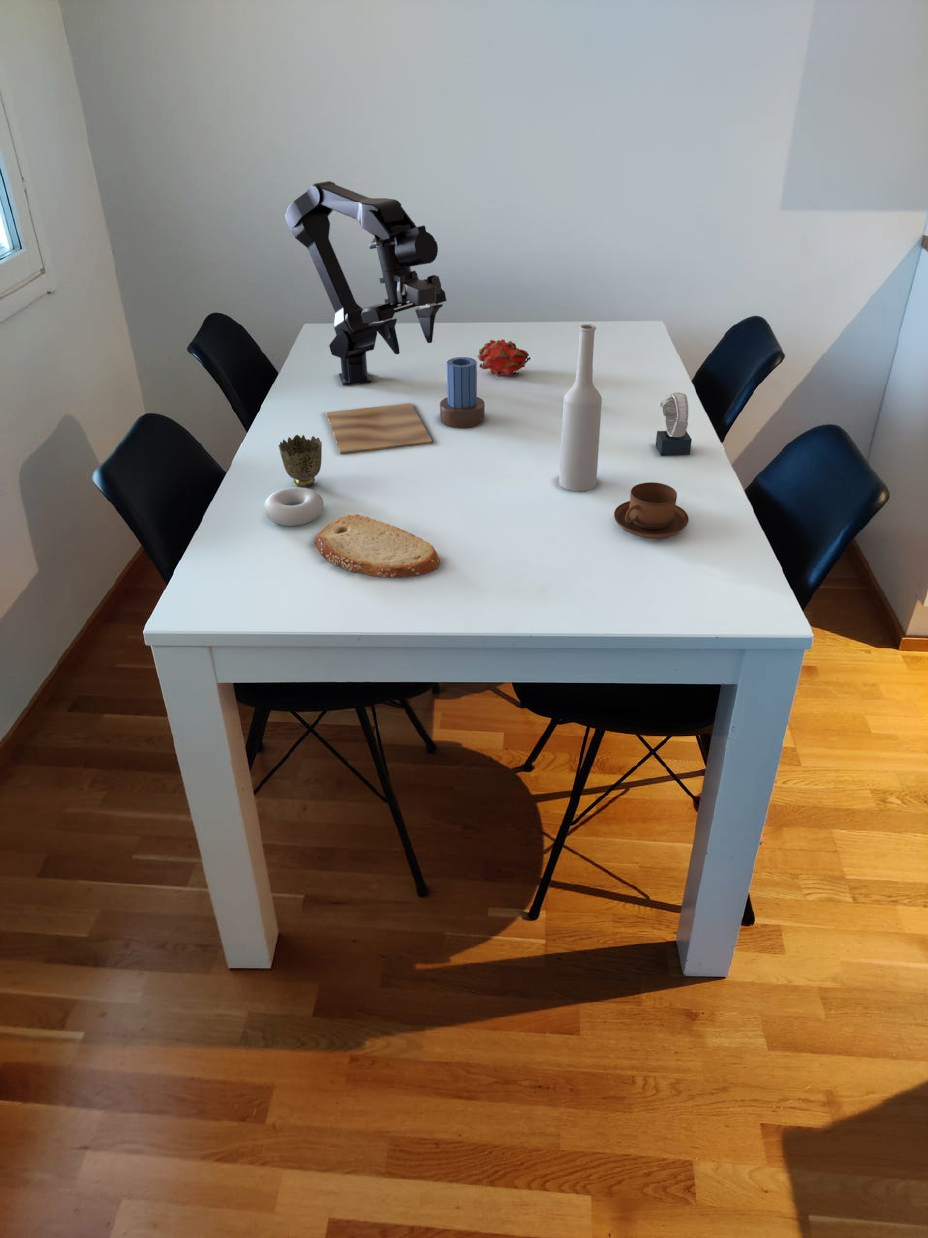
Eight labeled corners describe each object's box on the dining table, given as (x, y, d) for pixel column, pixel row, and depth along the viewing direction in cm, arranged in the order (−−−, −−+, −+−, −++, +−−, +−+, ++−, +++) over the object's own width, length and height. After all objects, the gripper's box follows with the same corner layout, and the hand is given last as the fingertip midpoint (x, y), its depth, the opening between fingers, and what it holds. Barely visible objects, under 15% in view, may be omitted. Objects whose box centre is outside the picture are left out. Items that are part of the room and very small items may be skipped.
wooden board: (326, 414, 195) (325, 412, 195) (411, 404, 199) (411, 402, 198) (340, 453, 179) (340, 451, 179) (432, 442, 183) (432, 440, 183)
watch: (681, 440, 182) (688, 386, 176) (692, 458, 176) (699, 402, 169) (652, 441, 182) (658, 387, 176) (662, 459, 175) (669, 403, 169)
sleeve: (444, 399, 192) (443, 358, 187) (472, 396, 193) (472, 355, 188) (451, 409, 187) (450, 368, 182) (479, 406, 188) (479, 365, 183)
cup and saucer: (670, 551, 148) (675, 517, 144) (601, 532, 153) (603, 498, 150) (698, 519, 156) (702, 486, 153) (631, 502, 162) (634, 469, 158)
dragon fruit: (473, 379, 215) (525, 386, 215) (476, 368, 206) (530, 376, 207) (477, 342, 215) (529, 349, 216) (481, 330, 206) (535, 338, 207)
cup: (332, 478, 171) (328, 437, 166) (314, 496, 165) (309, 454, 160) (296, 472, 173) (291, 432, 168) (276, 490, 167) (270, 448, 162)
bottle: (603, 482, 168) (616, 325, 152) (581, 495, 164) (591, 335, 148) (574, 471, 172) (583, 317, 156) (551, 483, 168) (558, 326, 152)
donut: (317, 531, 155) (330, 501, 163) (315, 512, 153) (328, 484, 161) (258, 529, 156) (274, 499, 164) (255, 510, 154) (271, 482, 162)
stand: (436, 413, 195) (434, 375, 190) (477, 408, 197) (477, 371, 192) (446, 430, 188) (445, 391, 183) (489, 425, 189) (489, 387, 185)
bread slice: (446, 571, 144) (445, 550, 142) (329, 591, 140) (326, 569, 138) (417, 517, 158) (416, 498, 156) (310, 534, 154) (308, 513, 152)
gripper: (387, 274, 176) (406, 358, 182) (456, 255, 187) (472, 335, 193) (350, 280, 184) (370, 360, 190) (419, 261, 195) (436, 338, 201)
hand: (413, 348), depth 193 cm, fingers open, 9 cm apart
